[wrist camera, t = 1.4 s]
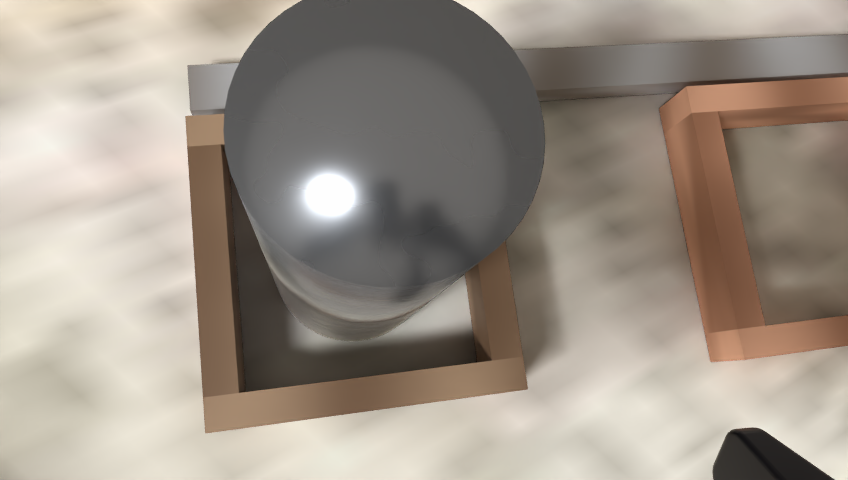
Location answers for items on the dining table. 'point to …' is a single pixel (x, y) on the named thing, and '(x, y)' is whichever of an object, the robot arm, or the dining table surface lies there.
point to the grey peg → (379, 154)
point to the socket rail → (490, 279)
